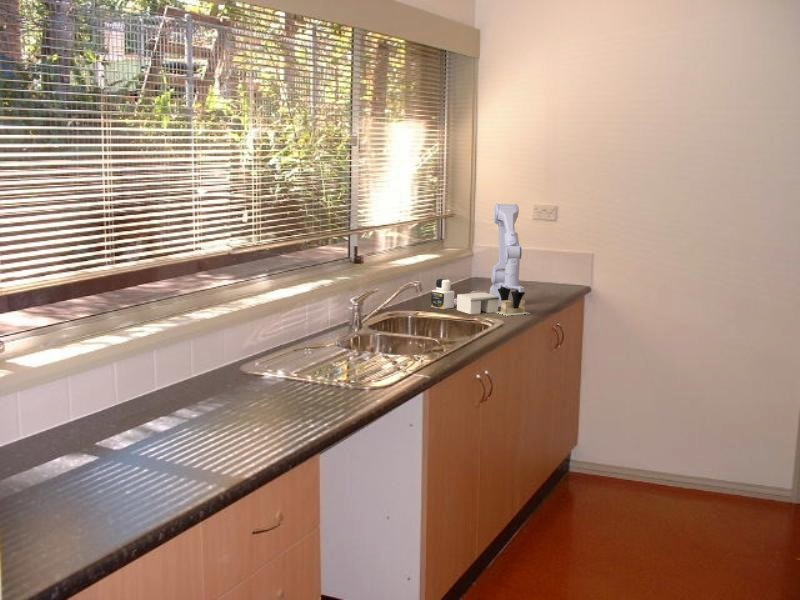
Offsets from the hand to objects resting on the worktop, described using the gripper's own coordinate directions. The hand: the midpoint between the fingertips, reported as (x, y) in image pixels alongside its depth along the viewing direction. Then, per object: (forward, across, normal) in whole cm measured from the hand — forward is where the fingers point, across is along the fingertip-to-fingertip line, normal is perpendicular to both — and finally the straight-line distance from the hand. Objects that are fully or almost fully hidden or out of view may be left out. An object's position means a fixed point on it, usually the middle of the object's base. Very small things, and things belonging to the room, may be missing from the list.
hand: (510, 306), depth 394 cm
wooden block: (+2, 0, +1) cm, 3 cm away
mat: (+3, 0, +2) cm, 3 cm away
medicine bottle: (+3, -23, -18) cm, 30 cm away
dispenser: (+3, -10, -10) cm, 14 cm away
